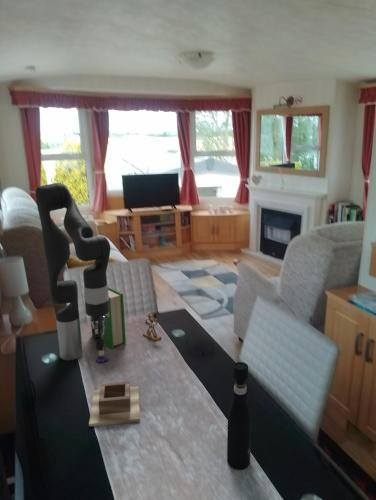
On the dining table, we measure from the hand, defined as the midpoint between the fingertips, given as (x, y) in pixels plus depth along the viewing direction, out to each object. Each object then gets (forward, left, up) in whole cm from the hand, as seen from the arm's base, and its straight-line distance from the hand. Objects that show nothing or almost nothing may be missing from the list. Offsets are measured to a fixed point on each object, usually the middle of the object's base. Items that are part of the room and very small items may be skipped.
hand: (100, 348), depth 130 cm
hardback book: (-49, -1, -22) cm, 54 cm away
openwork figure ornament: (-48, +19, -22) cm, 56 cm away
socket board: (+1, +4, -22) cm, 22 cm away
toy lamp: (0, 0, -5) cm, 5 cm away
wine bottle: (+31, +39, -22) cm, 54 cm away
